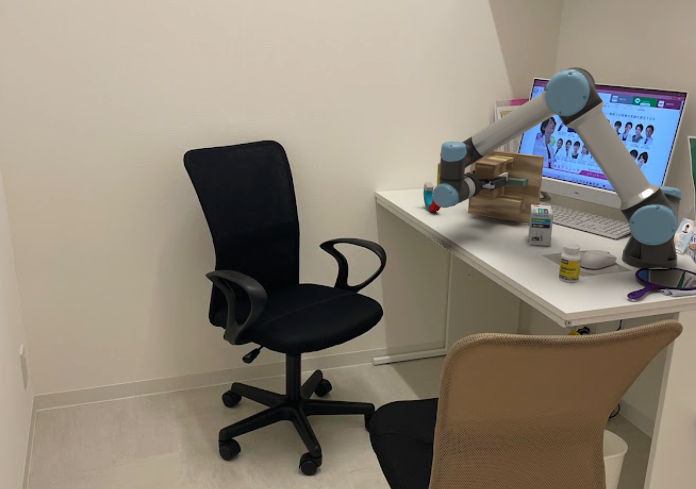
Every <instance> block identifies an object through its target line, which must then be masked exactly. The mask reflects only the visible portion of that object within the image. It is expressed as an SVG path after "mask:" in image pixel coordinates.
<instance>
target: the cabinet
mask: <svg viewBox="0 0 696 489" xmlns="http://www.w3.org/2000/svg"><path fill="white" fill-rule="evenodd" d="M513 160H514V158H512V157H505V156H497V155H496V156H493V157H490V158H486V159H484V160H481V161H478V162H476V164H475V176H476V177H477V178H495V177H498V175H501V174H503V173H505V172H506V168H508V169H513ZM503 195H504V186H503V187H500V188H497V189H494V190H493V191H491V190H490V189H489V188H486V189H482V190H480V192H479V193H478V194H477V195H476V196H474V197H475V198H481V199H486V200H494V199H497V198H499V197H501V196H503Z"/></svg>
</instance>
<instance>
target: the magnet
mask: <svg viewBox="0 0 696 489" xmlns="http://www.w3.org/2000/svg"><path fill="white" fill-rule="evenodd" d="M434 189H435V187H434V184H433V182H432V181H429V182H428V181H427V182H424V185H423V194H422V195H423V202H424V205H425V208H426V210H427V212H430V213H435V212H439V211H440V209H441V208H442V207H440V206H438V205H437V204H436V203H435V202H434V199H433V191H434Z"/></svg>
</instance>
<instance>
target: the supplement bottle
mask: <svg viewBox="0 0 696 489" xmlns="http://www.w3.org/2000/svg"><path fill="white" fill-rule="evenodd" d="M580 249H581V247H580V245H578V244H573V243H567V244H566V243H565V244H564V249H563V250H564V251H563V252H562V253H561V254H560V261H559V271H558V279H559V280H560V281H563V282H565V283H576V282H578V281H579V280H580V272H581V264H582V255H581V254H580Z"/></svg>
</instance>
